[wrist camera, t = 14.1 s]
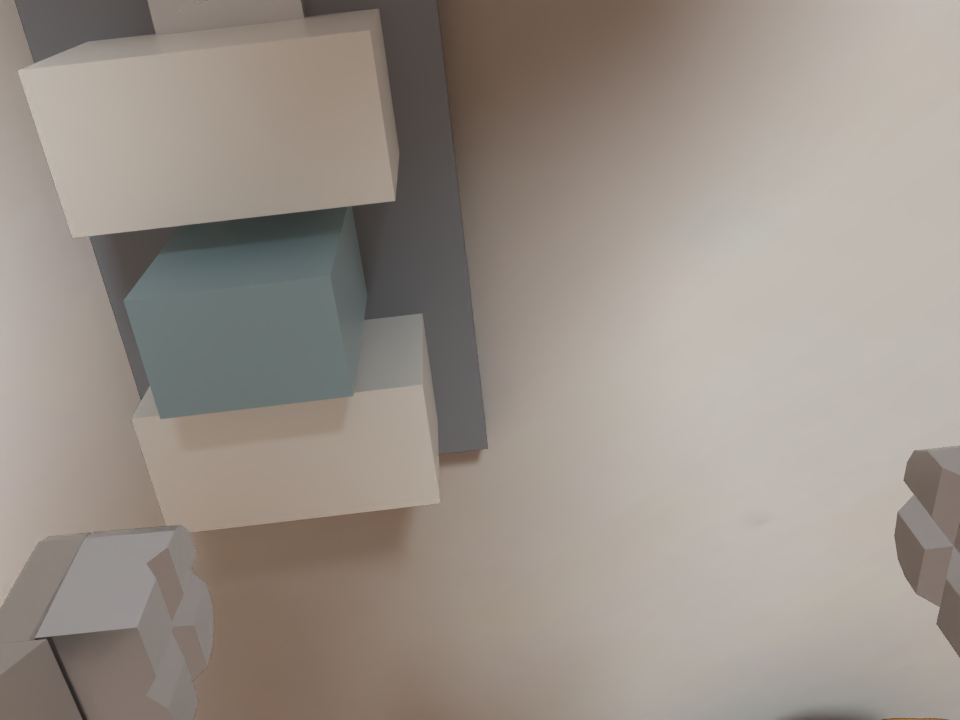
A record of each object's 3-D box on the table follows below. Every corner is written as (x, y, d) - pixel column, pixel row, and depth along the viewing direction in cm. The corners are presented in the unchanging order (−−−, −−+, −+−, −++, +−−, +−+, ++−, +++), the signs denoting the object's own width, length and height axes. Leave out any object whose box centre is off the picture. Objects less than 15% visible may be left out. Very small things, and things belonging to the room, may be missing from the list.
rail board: (30, -11, 31) (-78, 12, 24) (430, -56, 31) (432, -46, 24) (176, 466, 40) (128, 578, 34) (485, 430, 40) (498, 534, 34)
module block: (187, 215, 33) (123, 300, 26) (350, 195, 33) (330, 276, 26) (213, 313, 35) (160, 419, 28) (367, 295, 35) (353, 396, 28)
